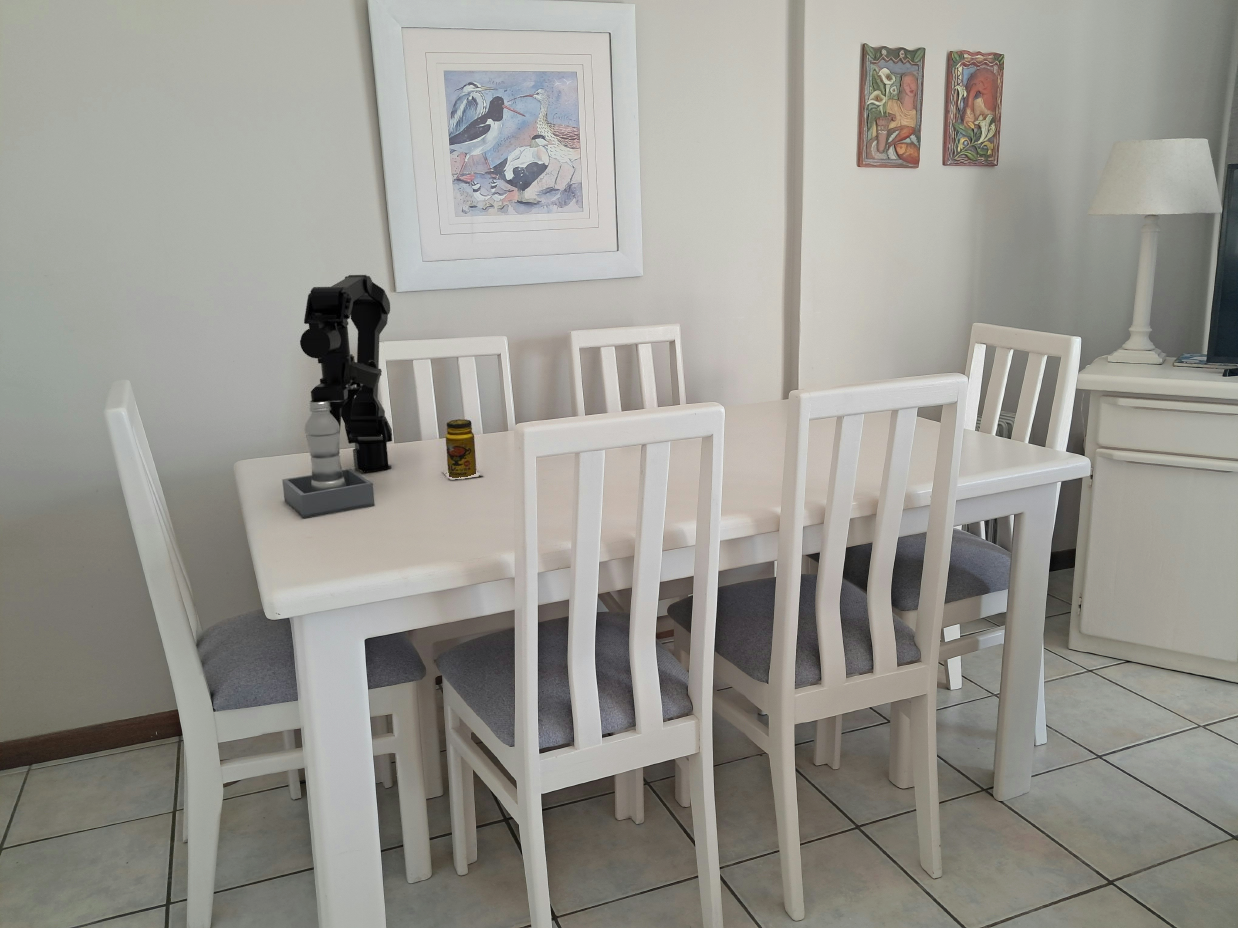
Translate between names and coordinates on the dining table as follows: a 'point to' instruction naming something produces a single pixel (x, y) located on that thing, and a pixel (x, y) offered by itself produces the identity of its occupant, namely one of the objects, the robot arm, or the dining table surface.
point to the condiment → (460, 449)
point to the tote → (328, 495)
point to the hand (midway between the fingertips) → (342, 428)
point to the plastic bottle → (324, 447)
